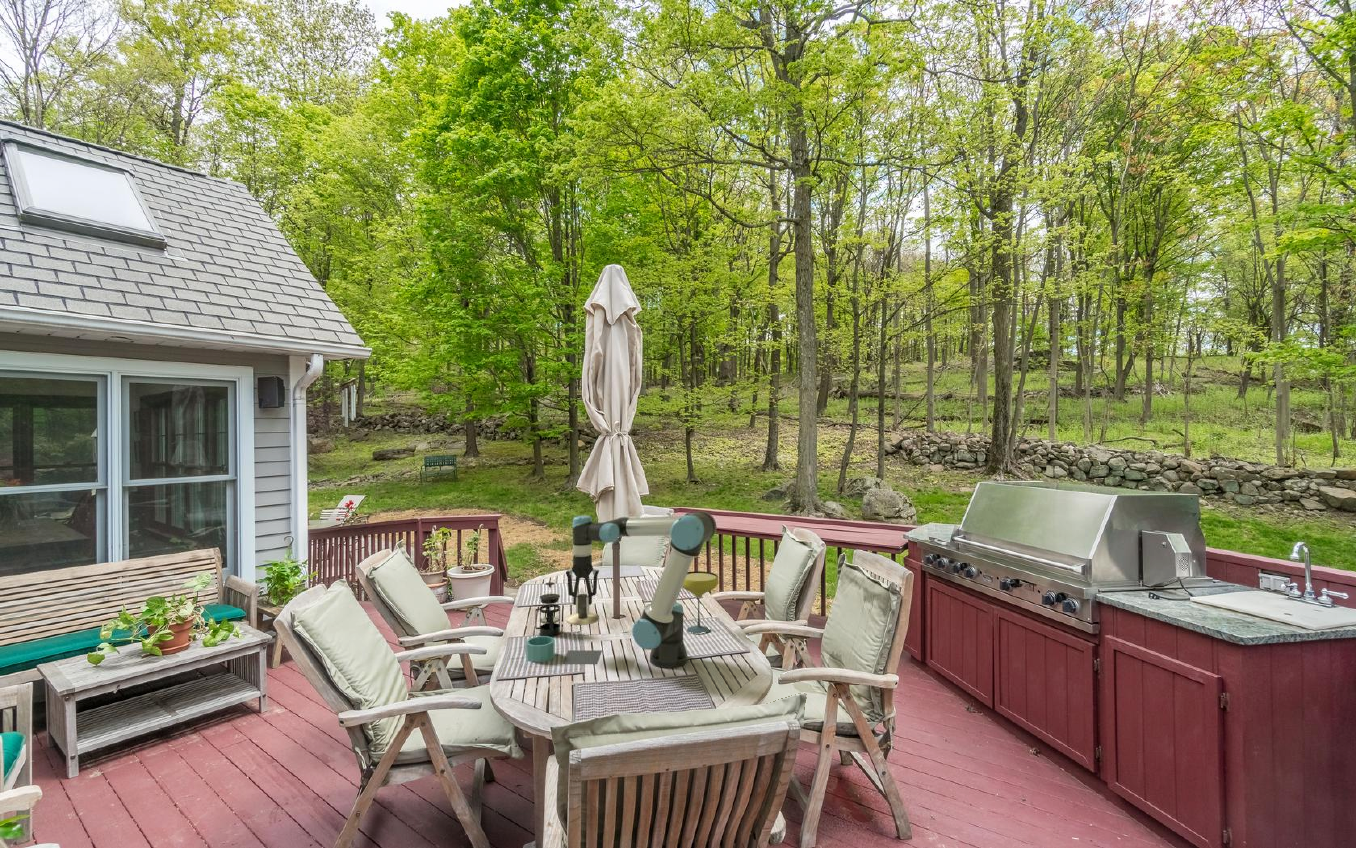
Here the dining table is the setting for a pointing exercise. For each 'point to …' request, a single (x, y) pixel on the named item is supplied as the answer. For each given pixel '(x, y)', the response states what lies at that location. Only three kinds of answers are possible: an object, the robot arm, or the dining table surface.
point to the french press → (549, 615)
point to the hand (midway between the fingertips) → (582, 612)
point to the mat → (582, 657)
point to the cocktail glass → (699, 591)
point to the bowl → (540, 649)
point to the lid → (582, 613)
